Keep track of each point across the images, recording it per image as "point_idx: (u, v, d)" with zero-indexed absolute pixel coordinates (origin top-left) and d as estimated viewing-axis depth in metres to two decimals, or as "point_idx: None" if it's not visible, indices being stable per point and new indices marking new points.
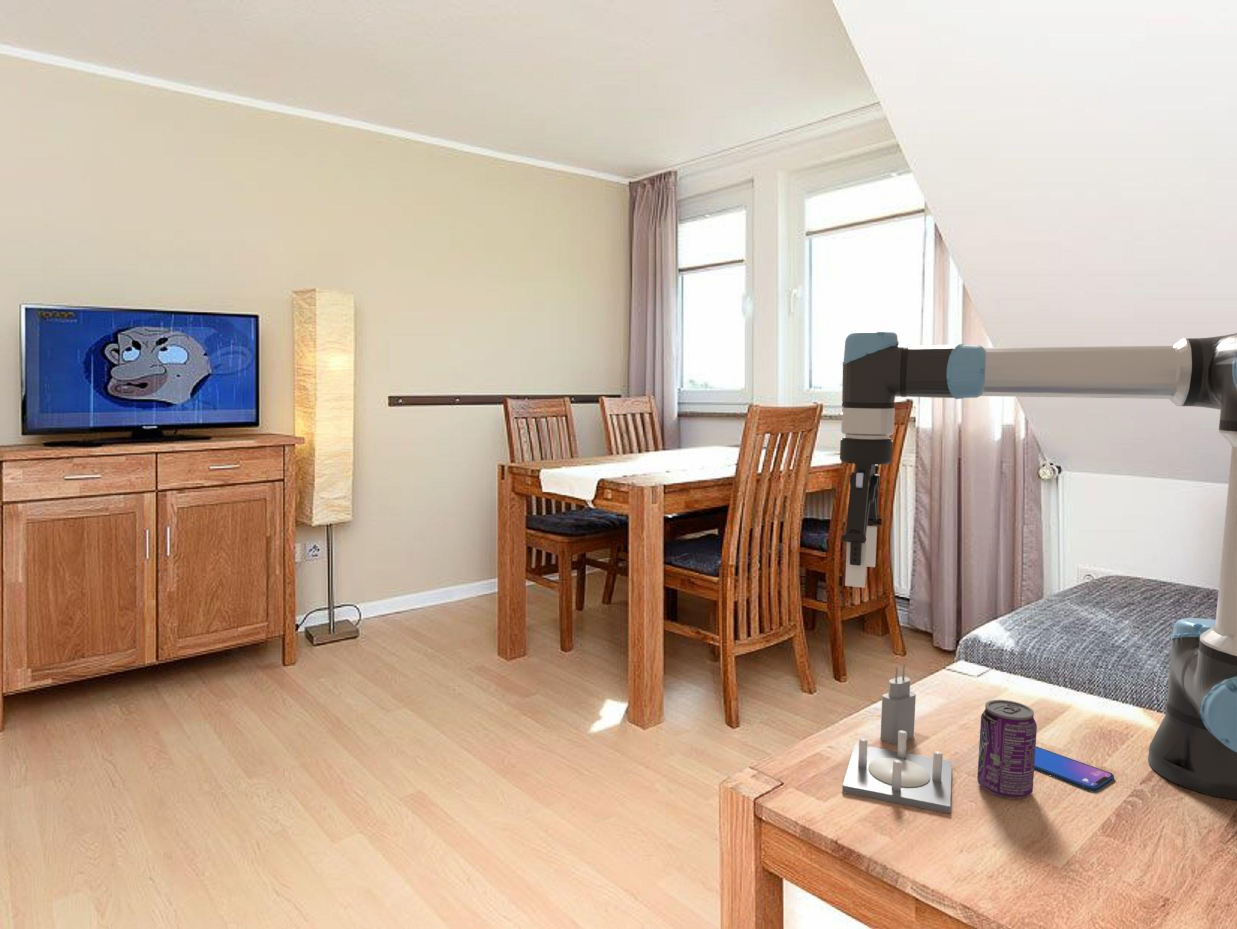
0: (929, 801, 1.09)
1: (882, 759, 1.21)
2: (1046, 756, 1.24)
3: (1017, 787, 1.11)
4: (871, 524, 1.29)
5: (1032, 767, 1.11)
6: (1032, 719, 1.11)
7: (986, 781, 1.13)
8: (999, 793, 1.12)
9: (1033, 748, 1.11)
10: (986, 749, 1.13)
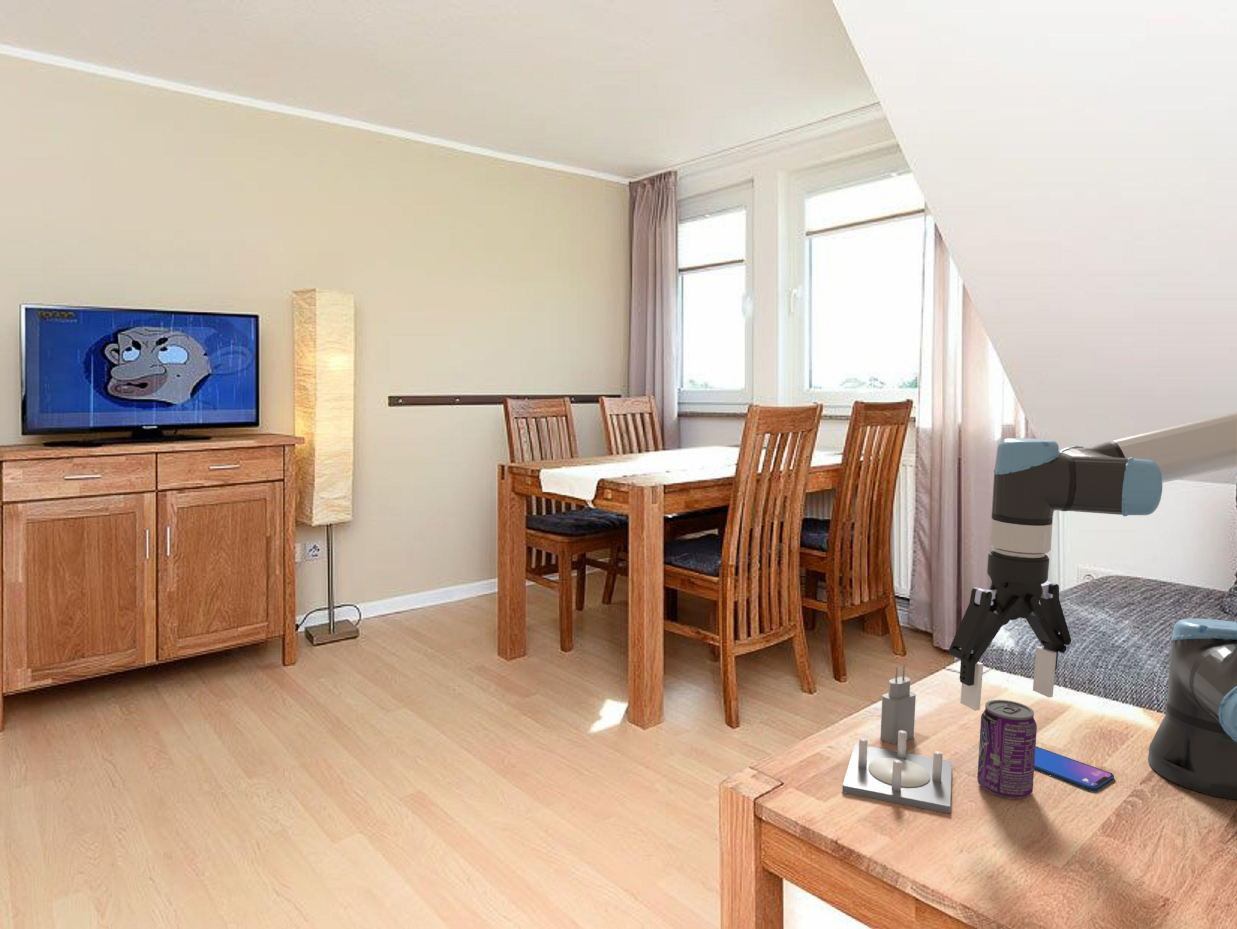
0: (929, 801, 1.09)
1: (882, 759, 1.21)
2: (1046, 756, 1.24)
3: (1017, 787, 1.11)
4: (1051, 649, 1.15)
5: (1032, 767, 1.11)
6: (1032, 719, 1.11)
7: (986, 781, 1.13)
8: (999, 793, 1.12)
9: (1033, 748, 1.11)
10: (986, 749, 1.13)
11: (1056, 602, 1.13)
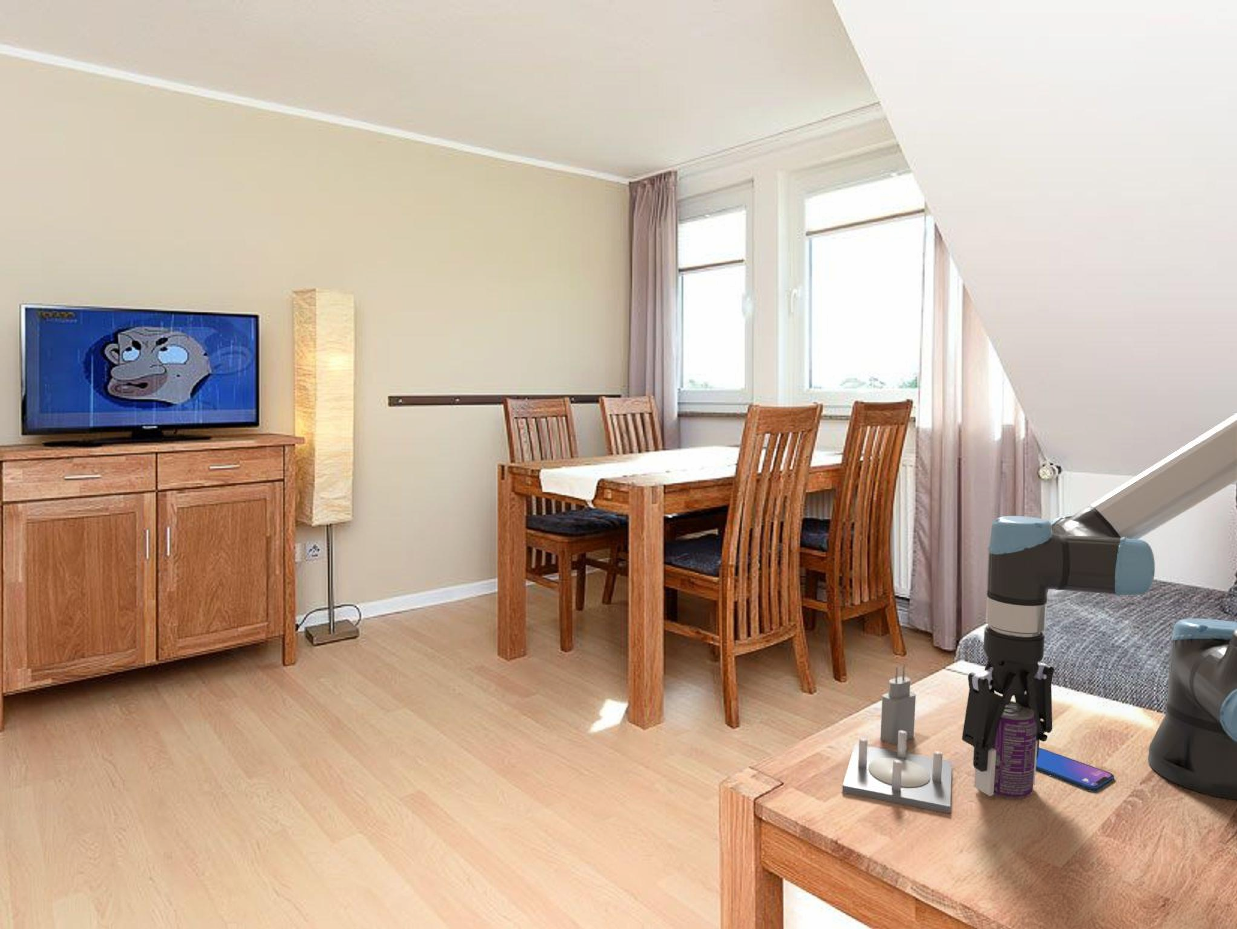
0: (929, 801, 1.09)
1: (882, 759, 1.21)
2: (1046, 756, 1.24)
3: (1017, 787, 1.11)
4: None
5: (1032, 767, 1.11)
6: (1032, 719, 1.11)
7: None
8: (999, 793, 1.12)
9: (1033, 748, 1.11)
10: None
11: (1048, 685, 1.14)
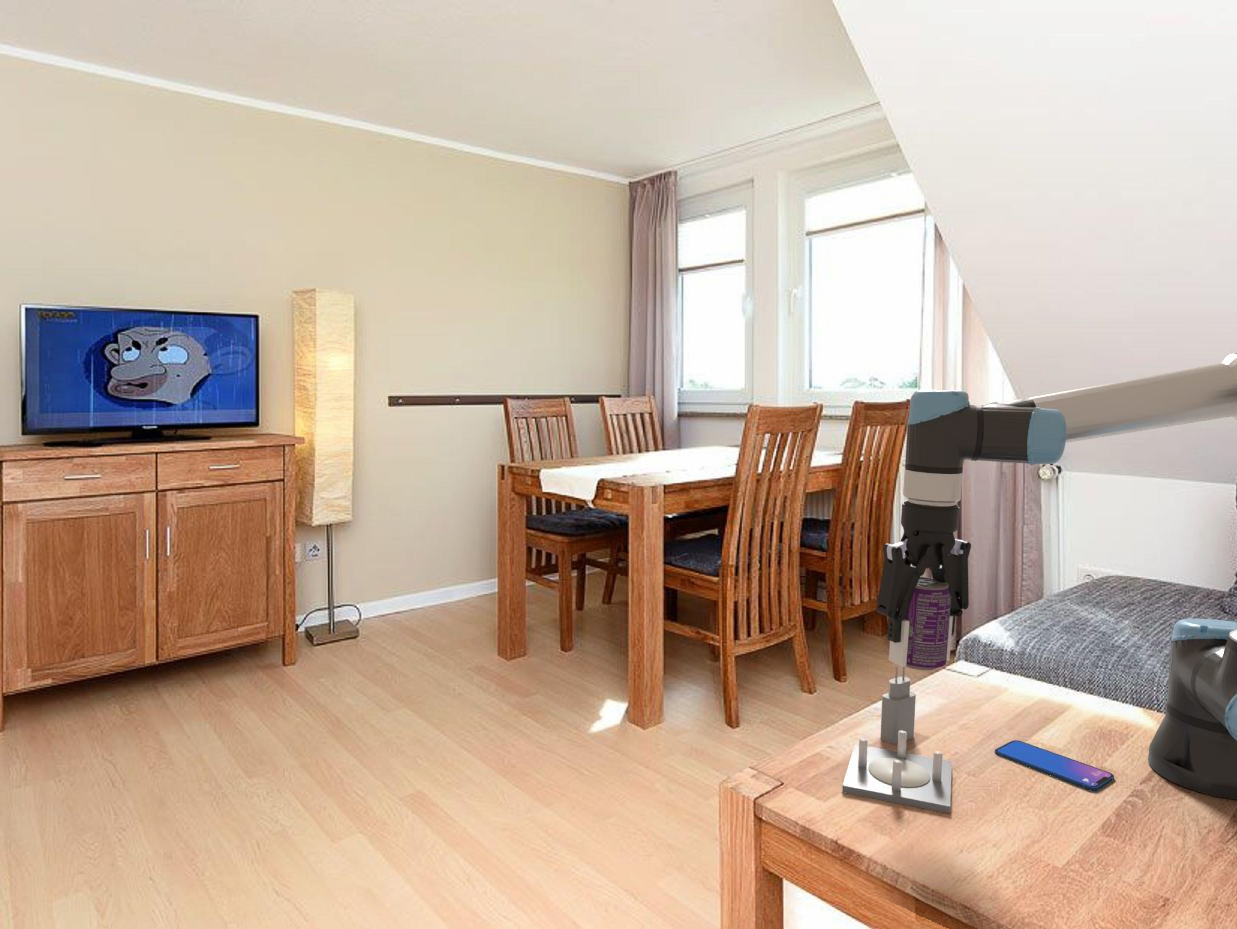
0: (929, 801, 1.09)
1: (882, 759, 1.21)
2: (1046, 756, 1.24)
3: (929, 657, 1.11)
4: None
5: (945, 639, 1.12)
6: (946, 591, 1.12)
7: None
8: (912, 664, 1.12)
9: (946, 619, 1.11)
10: None
11: (965, 560, 1.14)
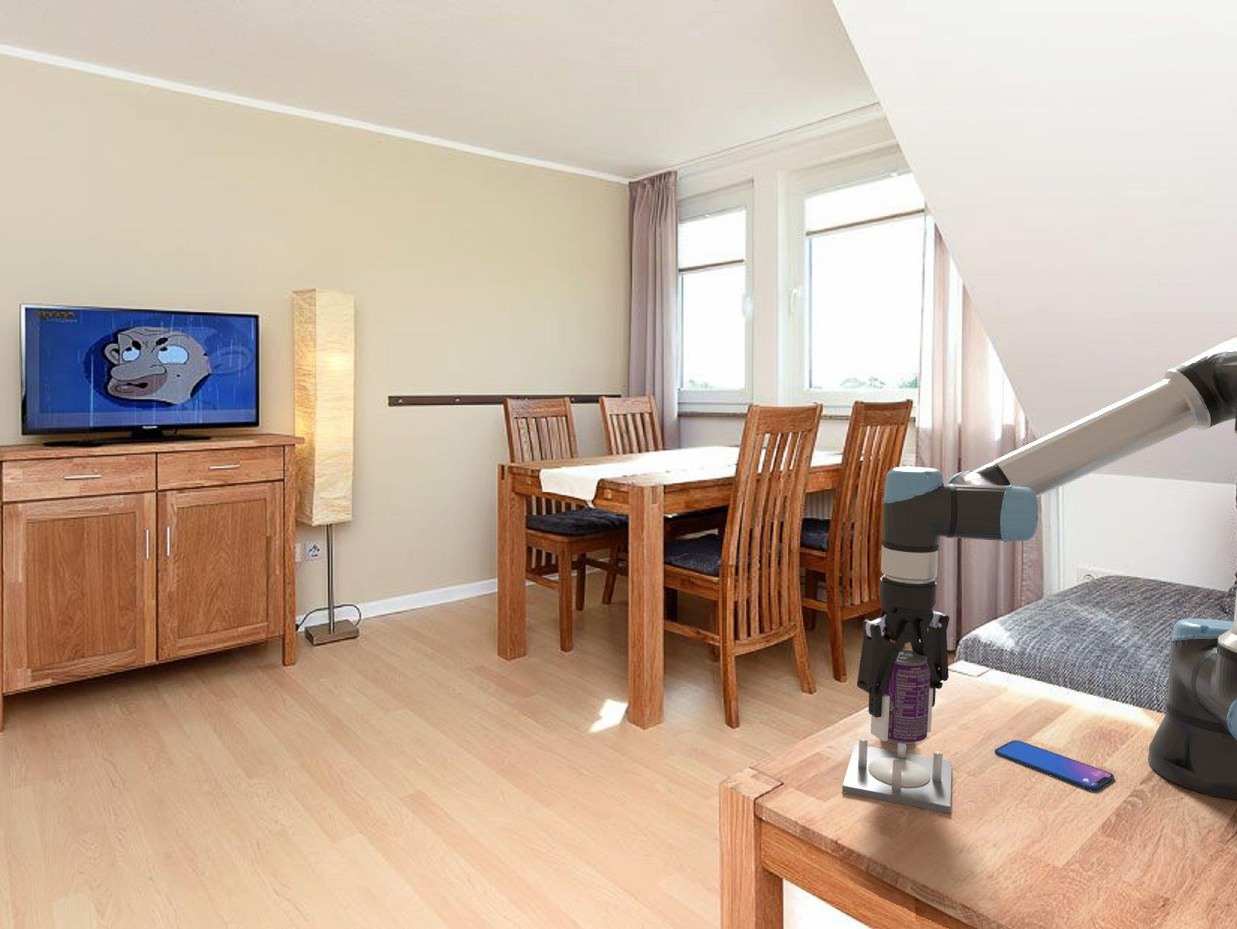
0: (929, 801, 1.09)
1: (882, 759, 1.21)
2: (1046, 756, 1.24)
3: (910, 732, 1.13)
4: None
5: (925, 712, 1.13)
6: (925, 665, 1.13)
7: None
8: (893, 738, 1.14)
9: (926, 694, 1.13)
10: None
11: (943, 633, 1.16)
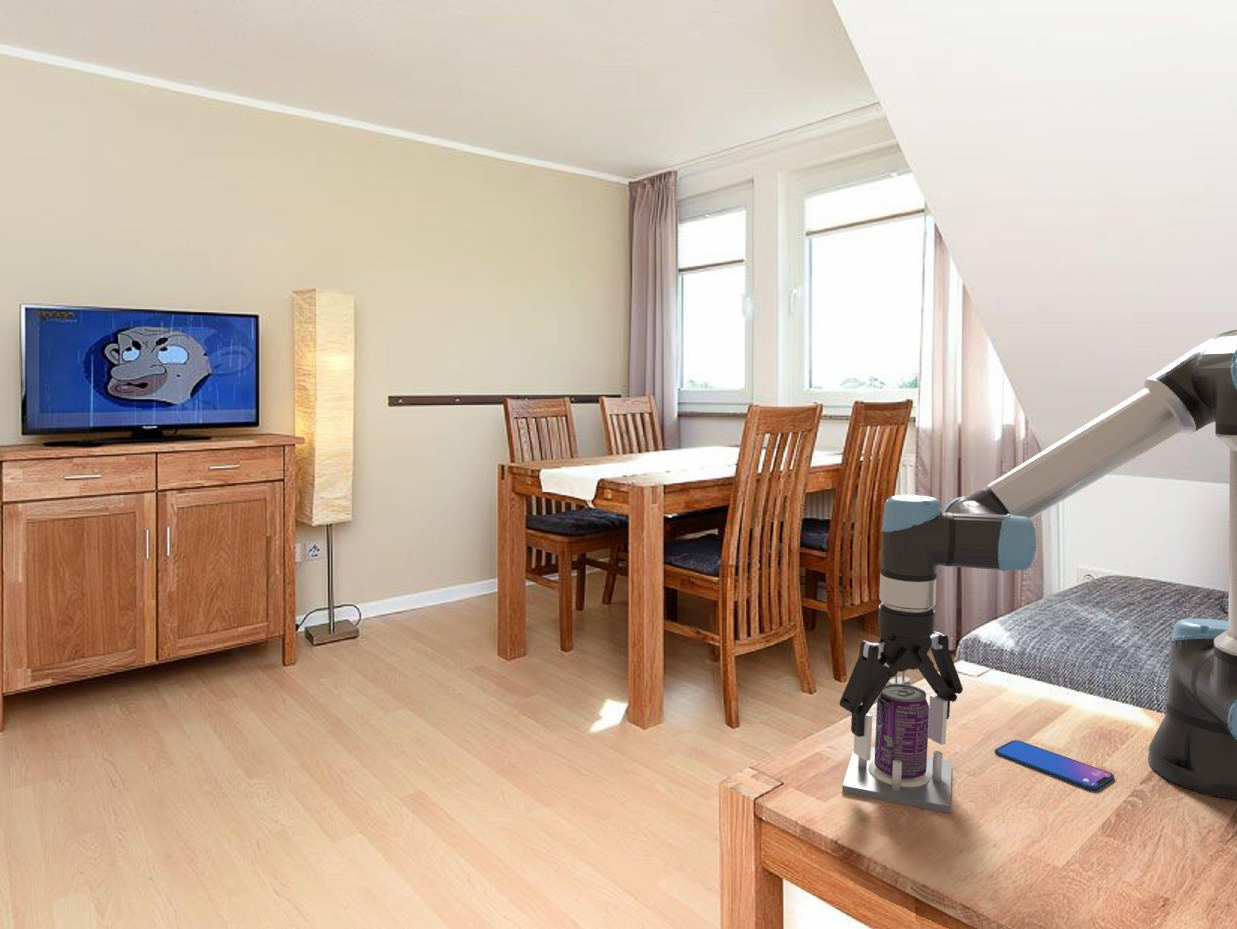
0: (929, 801, 1.09)
1: None
2: (1046, 756, 1.24)
3: (909, 768, 1.13)
4: (943, 697, 1.18)
5: (924, 748, 1.14)
6: (924, 701, 1.14)
7: (880, 763, 1.16)
8: None
9: (925, 730, 1.14)
10: (880, 731, 1.15)
11: (946, 652, 1.17)
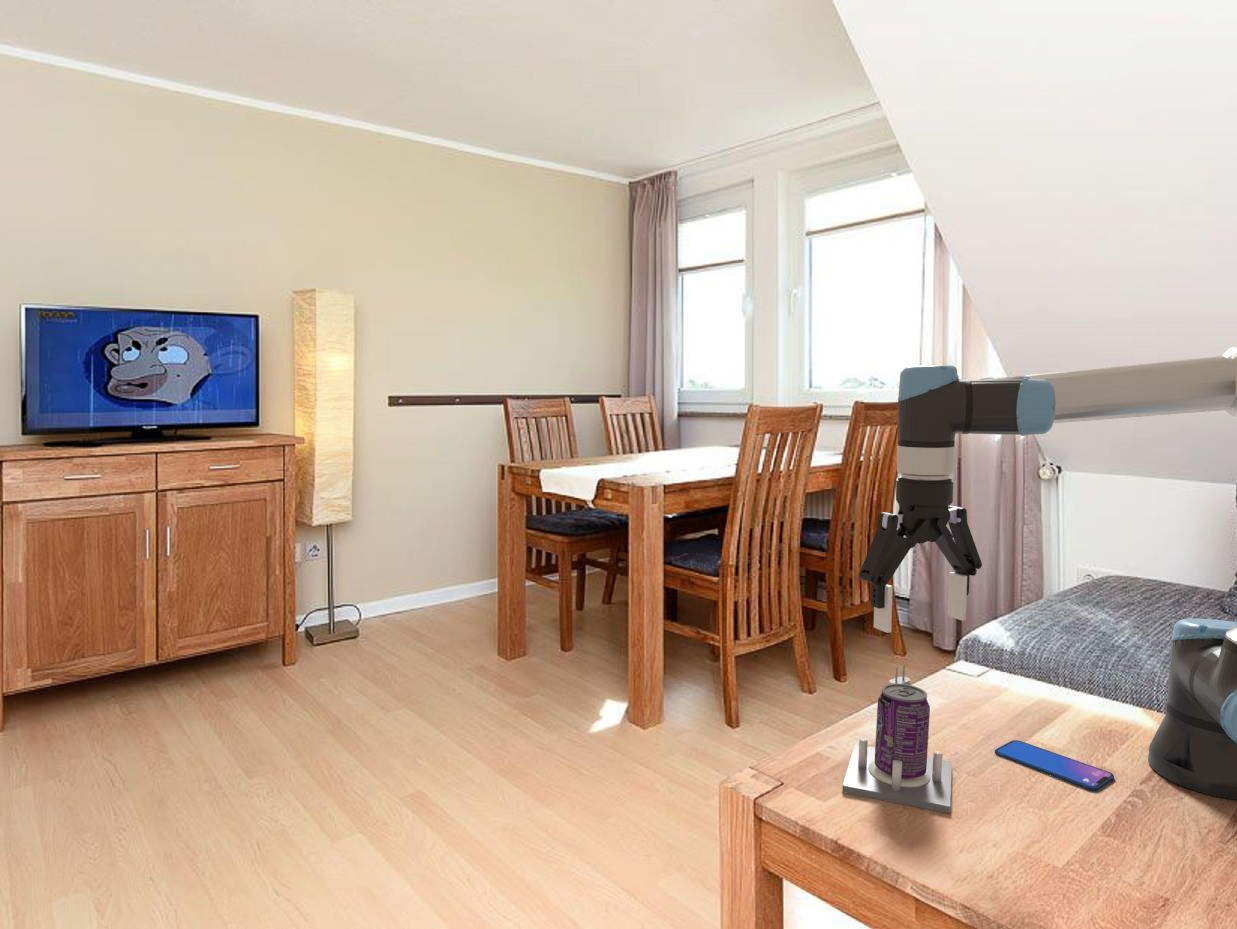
0: (929, 801, 1.09)
1: None
2: (1046, 756, 1.24)
3: (909, 768, 1.13)
4: (962, 573, 1.17)
5: (924, 748, 1.14)
6: (925, 702, 1.14)
7: (881, 762, 1.16)
8: None
9: (925, 730, 1.14)
10: (881, 731, 1.15)
11: (965, 526, 1.15)
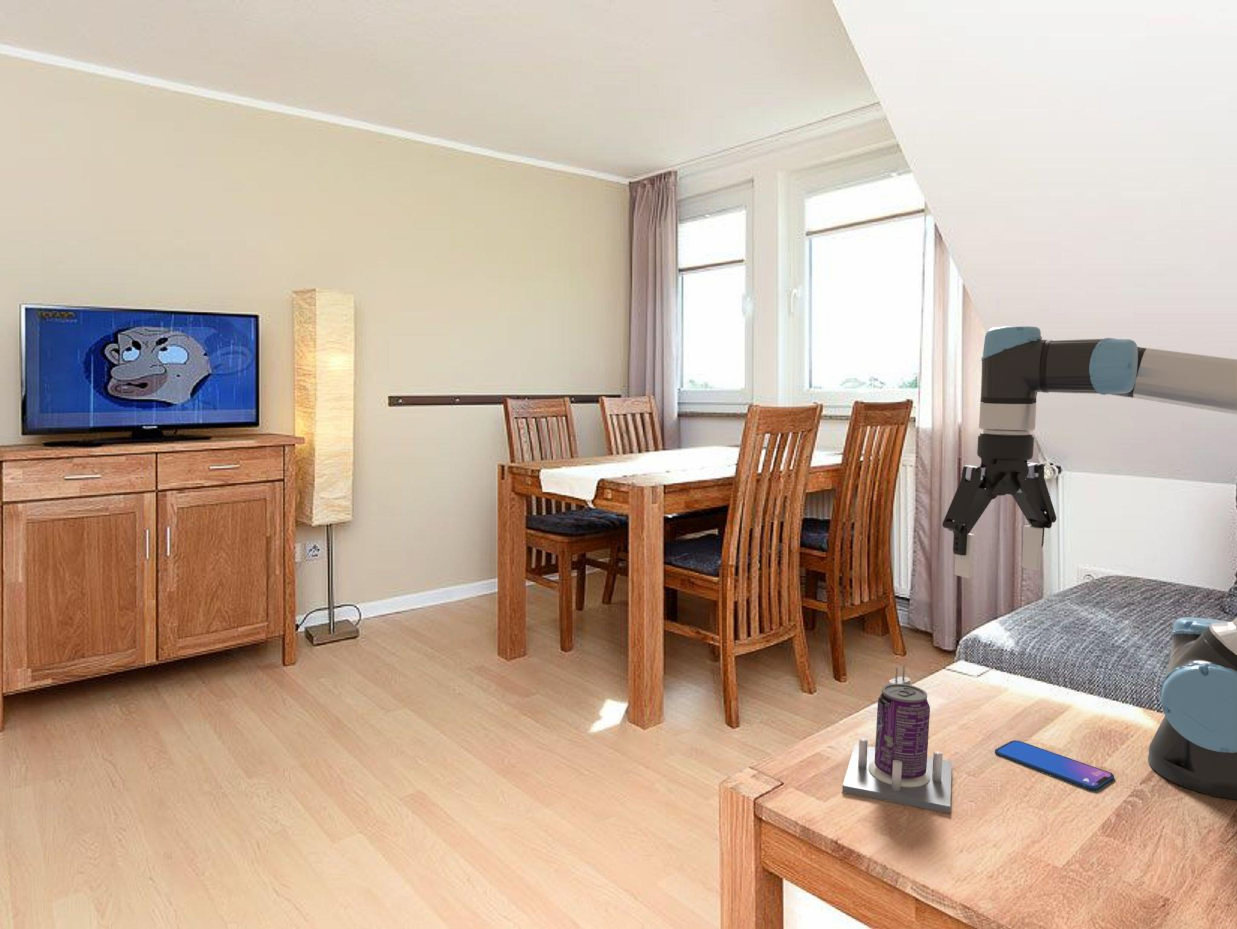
0: (929, 801, 1.09)
1: None
2: (1046, 756, 1.24)
3: (909, 768, 1.13)
4: (1037, 526, 1.24)
5: (924, 749, 1.14)
6: (925, 702, 1.14)
7: (880, 762, 1.16)
8: None
9: (925, 730, 1.14)
10: (880, 731, 1.15)
11: (1042, 481, 1.22)
